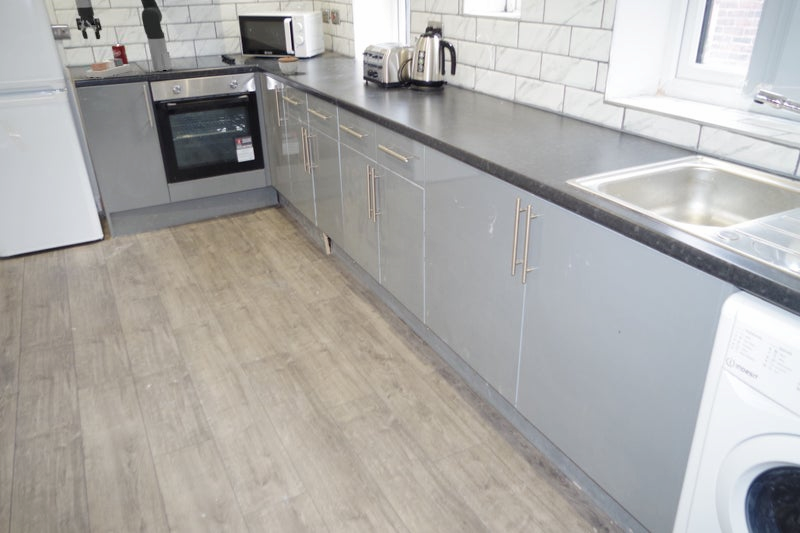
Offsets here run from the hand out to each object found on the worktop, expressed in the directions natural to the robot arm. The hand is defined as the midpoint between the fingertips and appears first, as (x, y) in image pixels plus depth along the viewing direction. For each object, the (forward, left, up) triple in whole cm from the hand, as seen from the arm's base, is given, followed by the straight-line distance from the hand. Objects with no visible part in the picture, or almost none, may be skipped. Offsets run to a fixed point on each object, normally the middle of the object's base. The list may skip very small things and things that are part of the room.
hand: (92, 39), depth 323 cm
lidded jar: (-104, -20, -19) cm, 108 cm away
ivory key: (-2, -5, -16) cm, 17 cm away
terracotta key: (-2, +2, -16) cm, 16 cm away
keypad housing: (-2, -5, -19) cm, 20 cm away
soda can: (+10, -32, -19) cm, 38 cm away
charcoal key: (-2, -12, -16) cm, 20 cm away
